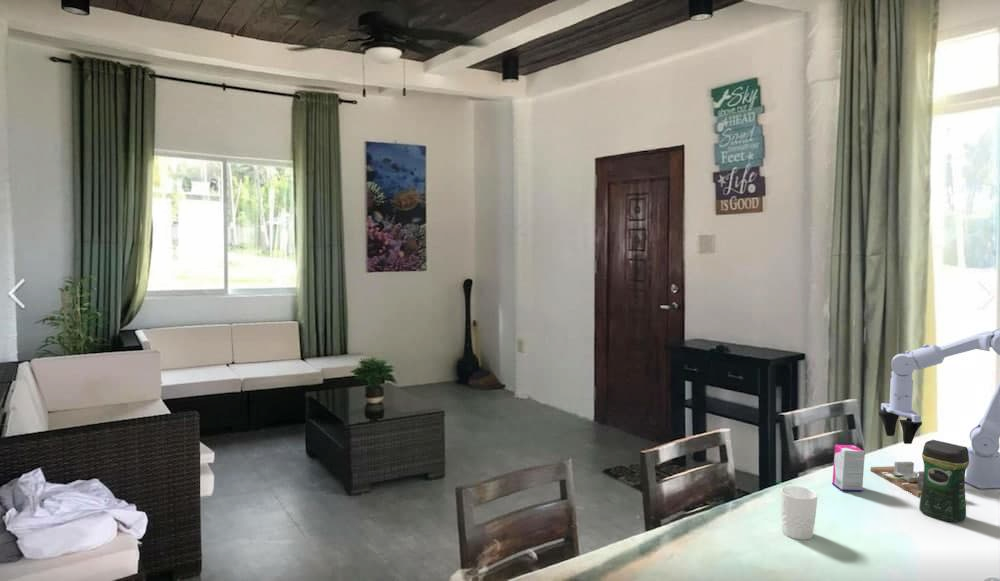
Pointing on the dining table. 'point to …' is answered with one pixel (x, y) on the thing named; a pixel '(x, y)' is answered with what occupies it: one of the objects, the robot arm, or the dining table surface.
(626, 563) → the dining table surface
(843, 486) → the supplement box
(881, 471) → the gauge frame
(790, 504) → the white cup
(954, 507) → the coffee jar
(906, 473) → the brushed steel block
